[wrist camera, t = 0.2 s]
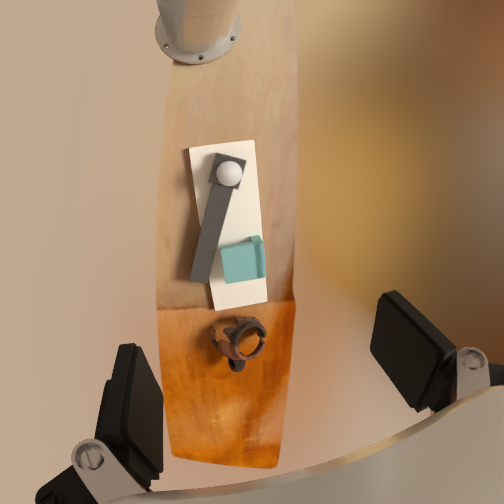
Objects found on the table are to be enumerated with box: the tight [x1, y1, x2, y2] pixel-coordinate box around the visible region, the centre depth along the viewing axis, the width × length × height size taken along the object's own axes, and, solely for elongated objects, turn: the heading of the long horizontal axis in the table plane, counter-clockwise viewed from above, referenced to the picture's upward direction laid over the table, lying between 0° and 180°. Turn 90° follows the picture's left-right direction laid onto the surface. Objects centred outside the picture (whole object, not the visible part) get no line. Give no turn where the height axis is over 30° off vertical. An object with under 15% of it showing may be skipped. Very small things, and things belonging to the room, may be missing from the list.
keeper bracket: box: [220, 235, 266, 284], centre depth 46 cm, size 6×6×3 cm
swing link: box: [189, 152, 247, 284], centre depth 43 cm, size 20×4×2 cm, turn 164°
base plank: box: [189, 140, 267, 311], centre depth 44 cm, size 28×10×5 cm, turn 6°
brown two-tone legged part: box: [209, 317, 267, 372], centre depth 53 cm, size 12×10×8 cm
